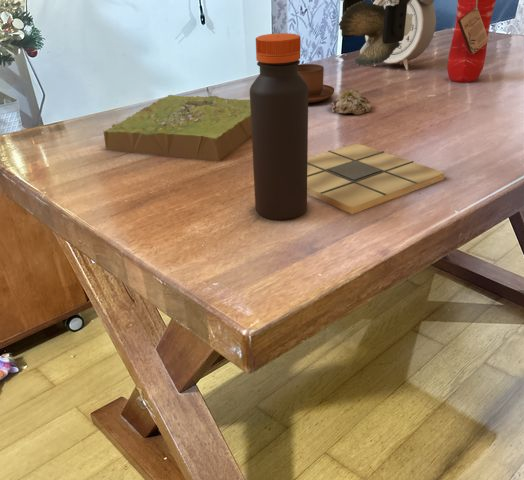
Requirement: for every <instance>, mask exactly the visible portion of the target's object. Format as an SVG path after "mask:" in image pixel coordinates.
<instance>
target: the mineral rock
mask: <svg viewBox="0 0 524 480" xmlns="http://www.w3.org/2000/svg"><path fill="white" fill-rule="evenodd" d="M330 105H331V112H332V113H335V114H338V113H339V114H344V115H345V114H353V115H355V116H356V115H362V114H365V113H369V112H370V111H371V109H372V108H373V105H372V104H371V101H370V100H368V98H366V97H365V96H363V95H362V94H361V92H359V91H358V90H356V89H350V90H344V91H342V94H341V95H340V96H339V98H338V99H336V100H334V101H333V102H331V103H330Z"/></svg>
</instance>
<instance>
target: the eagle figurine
mask: <svg viewBox="0 0 524 480" xmlns="http://www.w3.org/2000/svg"><path fill="white" fill-rule="evenodd" d="M384 13H385V9H384V6H383V5H382V6H379V5H376V4H373V3H372V2H367V1H366V0H364V1H360V2H358V3H355V4H354V5H352V6H351V7H348V8H347V10H346V11H345V12H344V15H343V16H342V15H341V17H340V18H341V19H340V21H339V23H338V26H339V30H340V31H341V32H342V34H344V35H356V36H357V37H363V36H365V35H367V36H368V40H367V41H366V40H365V43H364V44H363V46H362V47H361V48H360V50H359V55H358V56H356V57H355V58H354V59H353V60H352V62H354V63H353V64H355V65H356V66H357V67H365V66H371V65H373V66H374V65H376V64H377V65H378V64H382V63H385V62H384V61H385V60H387V59H388V58H389V57H390V55H391V54H392V53H393V51H394V50H395V49H396V48H399V44H400V43H399V42H394V43H389V44H385V43H383V41H382V37H383V25H384ZM411 26H412V18H411V16H410V15H409V14H408V13H406V22H405V31H404V36H406V35H408V33H409V32H410V29H411ZM377 65H376V66H377Z"/></svg>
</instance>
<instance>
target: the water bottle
mask: <svg viewBox="0 0 524 480" xmlns="http://www.w3.org/2000/svg"><path fill="white" fill-rule="evenodd" d="M496 1H497V0H457V4H456V5H457V6H456V16H455V22H454V23H455V24H454V30H453V34H452V39H451V44H450V48H449V52H448V59H447V66H446V70H447V75H448V79H449V80H450V81H451V82H454V83H472V82H475V81H477V80H478V79H479V77H480V75H481V73H482V72H483V70H484V65H485V61H486V56H487V55H486V54H487V48H488V43H489V42H490V39H489V32H490V27H491V21H492V16H493V13H494V9H495V5H496Z"/></svg>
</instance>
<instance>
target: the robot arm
mask: <svg viewBox="0 0 524 480" xmlns="http://www.w3.org/2000/svg"><path fill="white" fill-rule="evenodd" d="M340 1H341V2H342V11H341V17H342V16H343V15H344V12H345V11H346V10H347V8H348V7H351V6H352V5H354V4H355V3H358V2H360V1H365V0H340ZM389 2H390V5H387V6H386V7H385V13H384V25H383V37H382V41H383V43H385V44H389V43H394V42H399V41H402V40H403V39H404V31H405V22H406V12H407V4H409V3H411V2H412V0H389ZM340 34H341V37H343V38H350V37H356V36H357V35H344V34H342V31H341V33H340Z"/></svg>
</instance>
